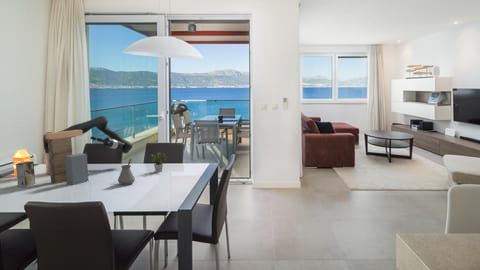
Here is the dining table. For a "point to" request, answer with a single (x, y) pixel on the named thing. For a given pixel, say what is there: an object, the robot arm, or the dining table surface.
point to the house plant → (158, 162)
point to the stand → (59, 158)
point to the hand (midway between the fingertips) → (94, 138)
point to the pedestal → (76, 168)
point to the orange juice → (20, 158)
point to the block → (63, 134)
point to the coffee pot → (126, 175)
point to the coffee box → (25, 174)
